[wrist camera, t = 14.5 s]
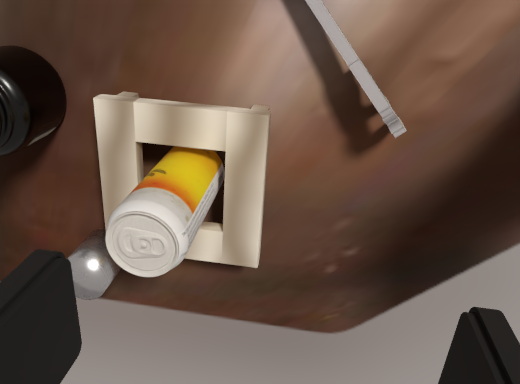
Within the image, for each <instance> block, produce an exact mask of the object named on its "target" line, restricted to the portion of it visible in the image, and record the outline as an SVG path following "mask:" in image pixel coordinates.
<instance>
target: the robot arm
mask: <svg viewBox="0 0 520 384" xmlns="http://www.w3.org/2000/svg"><path fill="white" fill-rule="evenodd" d="M81 344H82V342H81V334H80V326H79V319H78V312H77V305H76V297H75V290H74V282H73V275H72V268H71V263H70V261H69V260H68V259H65V256H64V254H63V253H61V252H57V251H49V250H42V249H38V250H36V251H34V252H33V253H32V254H31V255H30V256H28V257H27V258H26V259H25V260H24V261H23V262H22V263H21V264H20V265H19V266H18V267H17V268H15V269H14V270H13V271H12V272H11V273H10V274H9V275H8V276H7V277H6V278H5V279H4V280H2V281H1V282H0V384H60V383H61V381H62V380H63V378H64V377H65V375H66V374H67V372H68V371H69V369H70V368H71V366H72V365H73V363H74V361H75V360H76V359H77V357H78V355H79V353H80V350H81ZM438 384H520V344H519V342H518V340H517V338H516V336H515V335H514V333H513V331H512V329H511V327H510V325H509V323H508V322H507V320H506V318H505V316H504V314H503V313H502V312H501V311H499V310H494V309H486V308H479V307H473V308H471V309H470V311H469V313H467V312H463V313H462V314H461V316H460V319H459V322H458V325H457V328H456V331H455V335H454V338H453V340H452V343H451V346H450V349H449V352H448V355H447V358H446V361H445V364H444V368H443V370H442V374H441V377H440V380H439V383H438Z"/></svg>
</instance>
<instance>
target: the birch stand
mask: <svg viewBox="0 0 520 384" xmlns="http://www.w3.org/2000/svg"><path fill="white" fill-rule="evenodd" d="M93 100H94V111H95V122H96V132H97V143H98V153H99V164H100V175H101V185H102V196H103V207H104V217H105V228H106V231H107V223H108V220H109V217H110V216H111V214H112V213H113V211H114V210H115V209H116V208H117V207H118V206H119V205H120V204H121V203H122V201H123V200H124V199H125V198H126V197H127V196H128V195H129V194H130V193H131V192H132V191H133V190H134V188H135V187H136V186H137V185H138V184H139V183H140V182H141V181H142V180H143V179H144V173H143V152H142V142H144V143H153V144H162V145H171V146H181V147H190V148H199V149H208V150H217V151H226V155H225V183H224V211H223V224H220V223H212V222H204V221H203V222H202V224H201V226H200V228H199V230H198V232H197V234H196V236H195V238H194V240H193V242H192V244H191V246H190V248H189V250H188V252H187V254H186V255H185V257H184V258H185V259H193V260H201V261H208V262H216V263H224V264H231V265H239V266H247V267H254V268H258V264H259V259H260V247H261V234H262V221H263V208H264V196H265V183H266V170H267V157H268V145H269V132H270V119H271V111H269V106H264V105H254V104H253V106H252V107H251V109H247V108H237V107H227V106H216V105H206V104H196V103H186V102H176V101H166V100H156V99H146V98H139V95H138V93H132V92H121V93H120V94H118V95H106V94H100V95H98V96H96V97H94V98H93Z"/></svg>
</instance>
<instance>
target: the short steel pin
mask: <svg viewBox="0 0 520 384" xmlns="http://www.w3.org/2000/svg"><path fill="white" fill-rule="evenodd" d="M105 237H106V229H97V230H95V231H93V232H92V233H91V234H90V235H89V236H88V237H87V238H86V239H85V240H84V241H83V242H82V243H81V244H80V245H79V247H78V248H77V249H76V250H75V251H74V252H73V253H72V254H71V255H70V256H69V257H68V258H67V259H68V260H69V261H70V263H71V268H72V275H73V282H74V290H75V297H78V298H81V299H86V300H91V299H96V298H98V297H100V296H101V295H102V294H103V293H104V292H105V290H106V289H107V288H108V286H109V285H110V283H111V282H112V280H113V279H114V278H115V276H116V275H117V273H118V272H119V271H120V269H121V267H120V266H119V265H118V264H117V263H116V262H115V261H114V260H113V259H112V257H111V256H110V254H109V252H108V250H107V247H106V241H105Z"/></svg>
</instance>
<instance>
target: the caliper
mask: <svg viewBox="0 0 520 384" xmlns="http://www.w3.org/2000/svg"><path fill="white" fill-rule="evenodd" d="M305 1H306V2H307V4H308V6H309V7H310V9H311V10H312V12H313V13H314V15H315V16H316V18H317V19H318V21H319V22H320V24H321V25H322V27H323V28H324V30H325V31H326V33H327V34H328V36H329V37H330V39H331V40H332V42H333V43H334V45H335V47H336V48H337V50H338V51H339V53H340V54H341V56H342V57H343V59H344V60H345V62H346V63H347V65H348V67H349V68H350V70H351V71H352V73H353V74H354V76H355V77H356V79H357V80H358V82H359V83H360V85H361V87H362V88H363V90H364V91H365V93H366V94H367V96H368V97H369V99H370V100H371V102H372V103H373V105H374V106H375V108H376V109H377V111H378V112H379V114H380V115H381V116H382V118H383V119H382V120H383V121H384V122H385V124H386V125H387V126H388V128H389V130H390V132H391V133H392V134H393V135H394V137H395V138H396V137H398V136H399V135H401V134H402V133H404V132H406V129H405V127H404V125H403V123H402V121H401V120H400V118H399V117H398V115H396V114H395V112H394V111H393V109H392V108H391V106H390V103H389V101H388V100H387V99H386V97H385V96H384V95H383V93H382V92H381V91H380V89H379V87H378V86H377V84H376V83H375V81H374V80H373V78H372V77H371V75H370V73H369V72H368V70H367V69H366V67H365V66H364V64H363V63H362V61H361V60H360V59H359V57H358V56H357V54H356V53H355V51H354V49H353V48H352V46H351V45H350V43H349V42H348V40H347V39H346V37H345V36H344V34H343V33H342V31H341V30H340V28H339V27H338V25H337V23H336V22H335V20H334V19H333V17H332V16H331V14H330V13H329V11H328V10H327V8H326V7H325V5H324V4H323V2H322V1H321V0H305Z"/></svg>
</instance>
